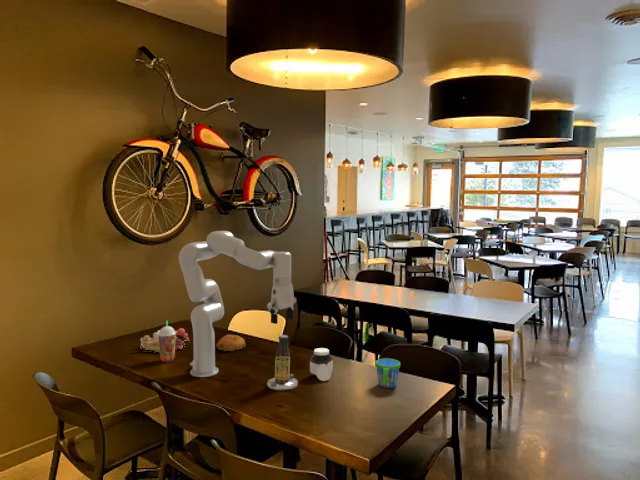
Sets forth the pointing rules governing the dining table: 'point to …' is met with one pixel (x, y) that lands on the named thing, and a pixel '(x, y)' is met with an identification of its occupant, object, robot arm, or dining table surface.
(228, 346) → the bread bun
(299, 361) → the dining table surface
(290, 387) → the base
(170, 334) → the smoothie
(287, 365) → the sauce bottle
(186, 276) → the robot arm
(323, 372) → the spread jar
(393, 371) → the snack cup
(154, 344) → the candy landscape model
